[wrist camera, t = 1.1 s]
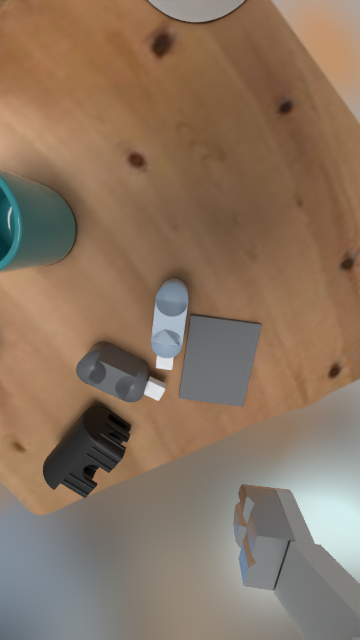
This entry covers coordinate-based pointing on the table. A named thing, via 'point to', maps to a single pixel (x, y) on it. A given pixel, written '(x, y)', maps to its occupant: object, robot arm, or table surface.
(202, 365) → the pad
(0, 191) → the cup
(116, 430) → the end cap
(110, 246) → the table surface
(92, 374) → the dark gray connector
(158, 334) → the blue connector
